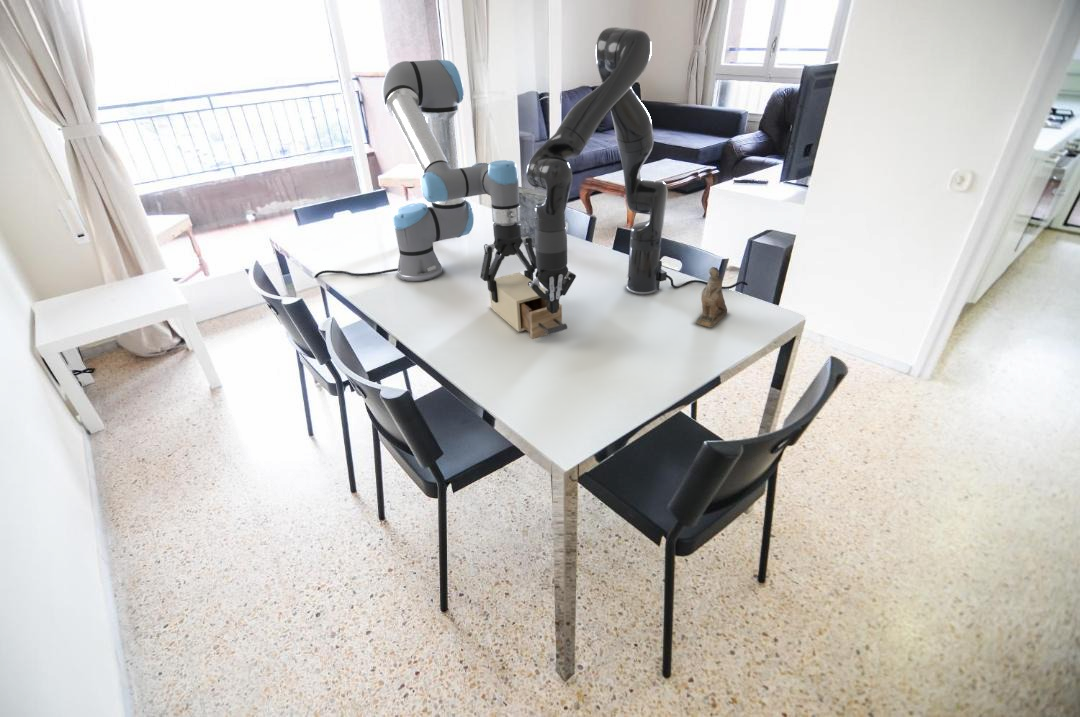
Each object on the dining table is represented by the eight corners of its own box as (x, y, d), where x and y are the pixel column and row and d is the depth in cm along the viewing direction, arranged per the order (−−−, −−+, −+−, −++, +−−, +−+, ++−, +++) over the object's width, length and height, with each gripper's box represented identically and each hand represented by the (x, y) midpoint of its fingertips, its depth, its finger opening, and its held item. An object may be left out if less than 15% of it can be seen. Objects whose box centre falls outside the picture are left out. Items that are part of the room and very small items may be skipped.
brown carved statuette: (709, 335, 136) (713, 280, 124) (691, 329, 139) (693, 274, 128) (730, 313, 142) (736, 258, 130) (712, 307, 145) (716, 253, 133)
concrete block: (560, 248, 193) (559, 196, 183) (541, 254, 189) (540, 200, 178) (521, 233, 212) (519, 184, 201) (504, 237, 207) (500, 188, 197)
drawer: (573, 338, 130) (573, 312, 126) (542, 347, 126) (541, 321, 123) (532, 307, 147) (530, 284, 144) (504, 315, 144) (502, 291, 140)
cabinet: (551, 322, 140) (550, 292, 136) (518, 332, 136) (516, 301, 132) (521, 300, 154) (519, 272, 150) (491, 308, 150) (488, 279, 145)
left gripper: (473, 232, 128) (481, 310, 139) (549, 218, 137) (551, 292, 148) (462, 226, 133) (471, 301, 145) (536, 212, 143) (539, 283, 154)
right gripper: (534, 257, 112) (537, 324, 121) (583, 245, 117) (583, 311, 126) (519, 247, 117) (523, 313, 126) (566, 236, 122) (567, 300, 132)
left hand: (511, 296), depth 147 cm, fingers closed on cabinet, 10 cm apart
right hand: (553, 312), depth 126 cm, fingers closed
